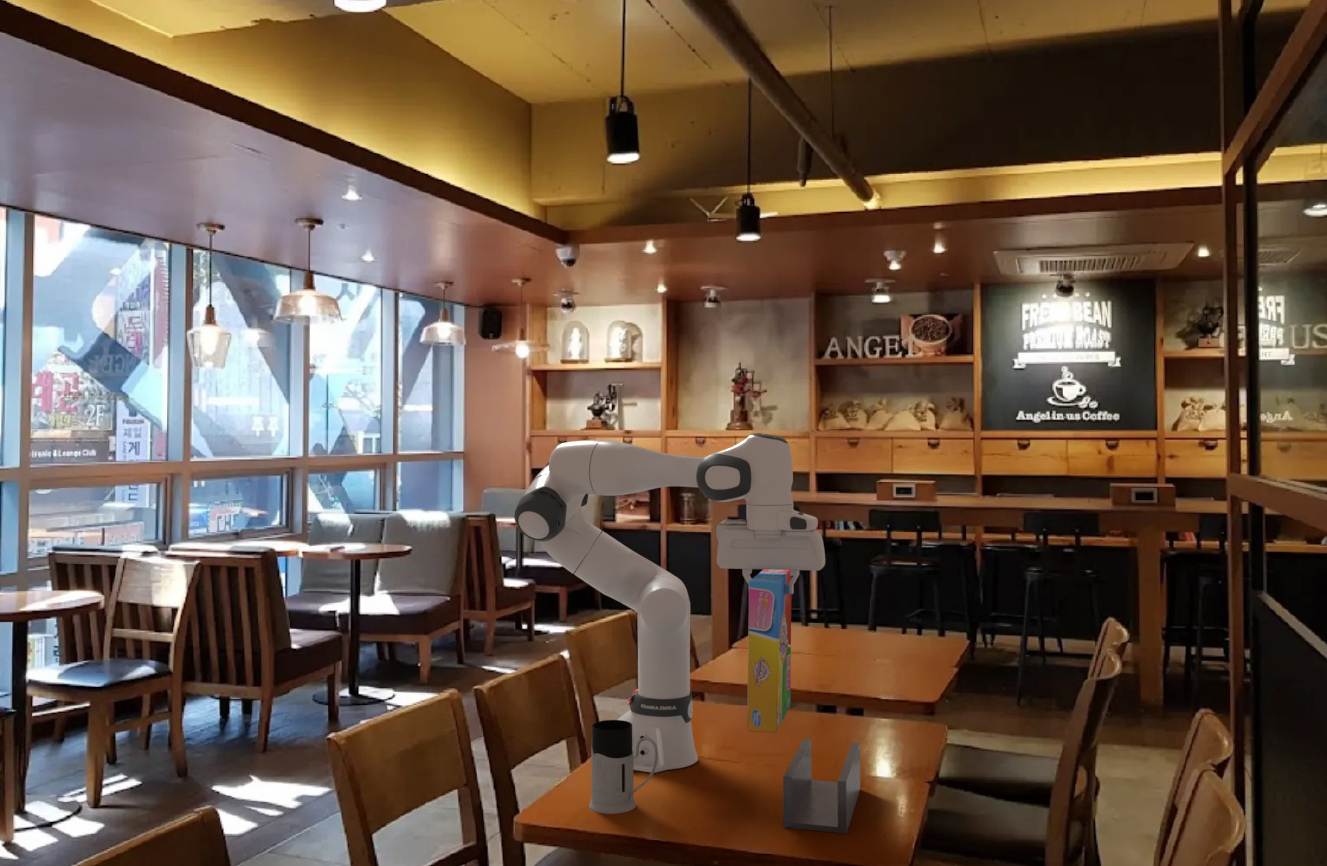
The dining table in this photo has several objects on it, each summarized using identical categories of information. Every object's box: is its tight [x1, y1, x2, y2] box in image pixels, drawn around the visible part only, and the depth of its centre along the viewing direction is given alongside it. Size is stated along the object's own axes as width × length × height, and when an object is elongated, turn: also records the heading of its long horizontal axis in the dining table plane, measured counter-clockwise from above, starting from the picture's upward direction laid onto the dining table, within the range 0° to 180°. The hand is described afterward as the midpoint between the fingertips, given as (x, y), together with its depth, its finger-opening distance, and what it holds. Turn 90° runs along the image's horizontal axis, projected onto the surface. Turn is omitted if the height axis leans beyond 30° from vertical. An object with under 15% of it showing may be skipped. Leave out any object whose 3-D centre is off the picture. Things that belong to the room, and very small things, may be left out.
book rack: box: [782, 738, 861, 834], centre depth 195 cm, size 11×24×9 cm, turn 164°
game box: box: [746, 569, 793, 734], centre depth 198 cm, size 21×6×27 cm, turn 166°
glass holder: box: [588, 719, 658, 815], centre depth 195 cm, size 9×14×15 cm, turn 59°
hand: (771, 593), depth 198 cm, fingers closed on game box, 5 cm apart
